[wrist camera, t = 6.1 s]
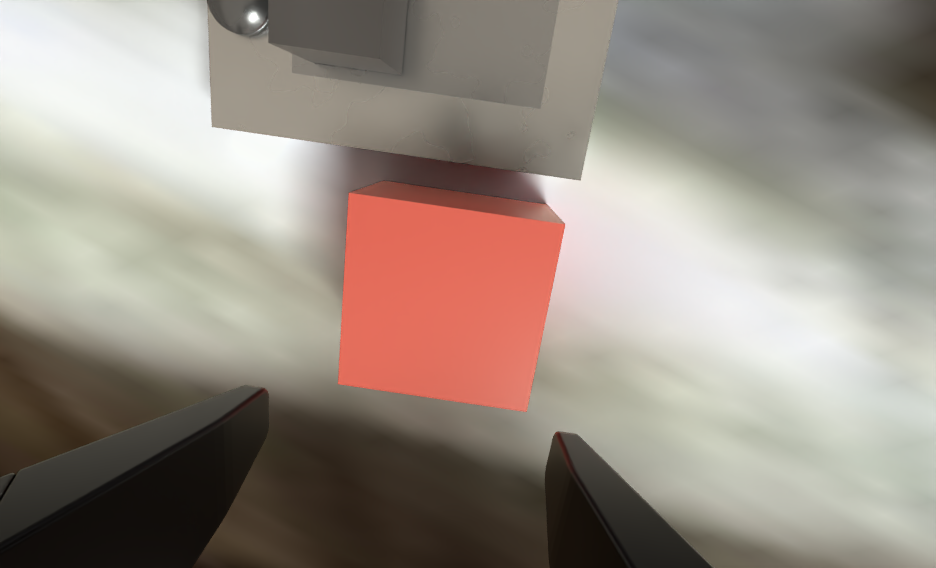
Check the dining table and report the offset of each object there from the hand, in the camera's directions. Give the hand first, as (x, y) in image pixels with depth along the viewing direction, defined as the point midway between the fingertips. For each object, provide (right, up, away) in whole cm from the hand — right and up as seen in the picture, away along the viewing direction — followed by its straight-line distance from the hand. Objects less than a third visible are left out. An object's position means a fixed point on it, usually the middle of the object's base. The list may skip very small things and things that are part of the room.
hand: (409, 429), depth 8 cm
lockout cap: (+1, +3, +10) cm, 11 cm away
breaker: (-2, +11, +6) cm, 13 cm away
